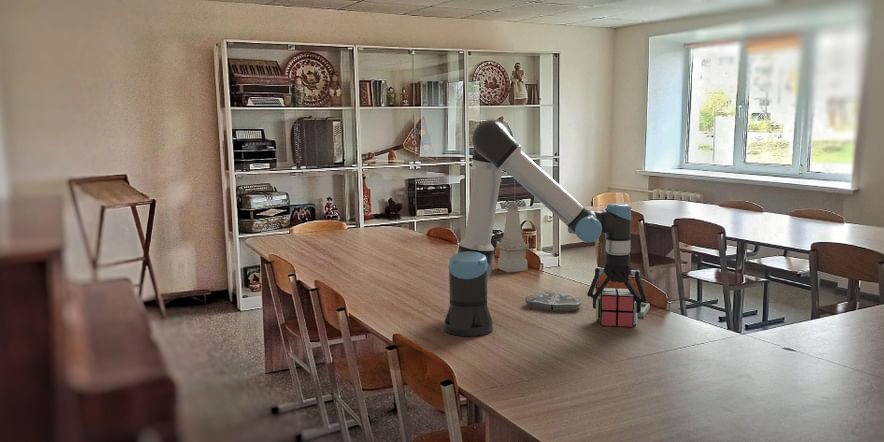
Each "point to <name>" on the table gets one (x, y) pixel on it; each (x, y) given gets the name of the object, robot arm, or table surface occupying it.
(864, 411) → the table surface
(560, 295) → the brain slice
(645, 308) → the coaster
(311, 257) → the table surface
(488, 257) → the robot arm
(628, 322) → the puzzle cube
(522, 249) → the miniature monument
